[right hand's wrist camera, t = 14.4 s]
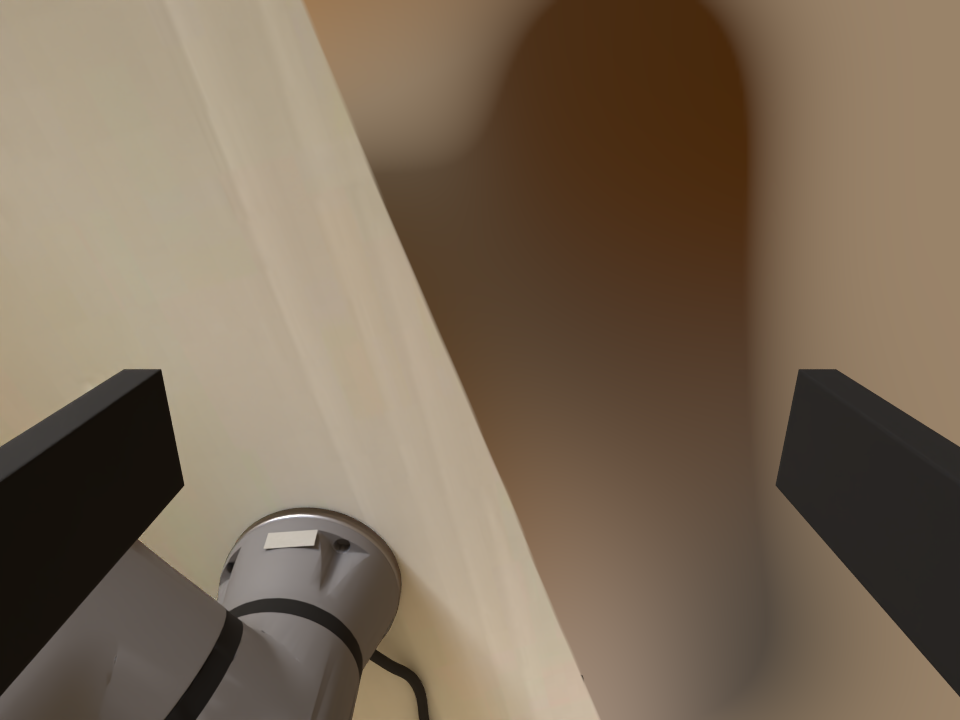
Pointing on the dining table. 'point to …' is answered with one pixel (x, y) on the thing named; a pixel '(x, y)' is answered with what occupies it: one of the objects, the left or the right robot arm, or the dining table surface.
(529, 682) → the dining table surface
